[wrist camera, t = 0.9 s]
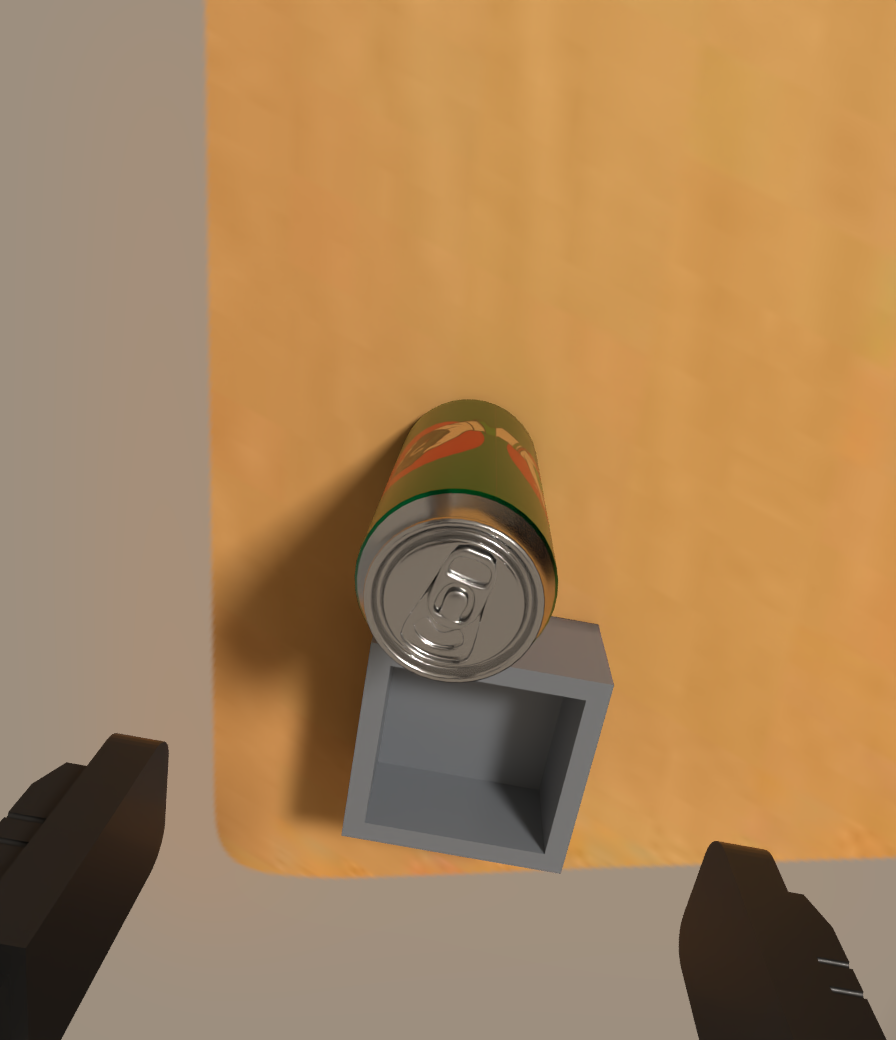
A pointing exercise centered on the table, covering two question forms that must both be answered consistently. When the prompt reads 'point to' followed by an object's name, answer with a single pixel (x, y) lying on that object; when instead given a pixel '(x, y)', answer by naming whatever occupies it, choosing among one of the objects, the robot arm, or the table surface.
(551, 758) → the grey hollow square box
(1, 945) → the robot arm
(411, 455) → the soda can
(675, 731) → the table surface
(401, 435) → the table surface
